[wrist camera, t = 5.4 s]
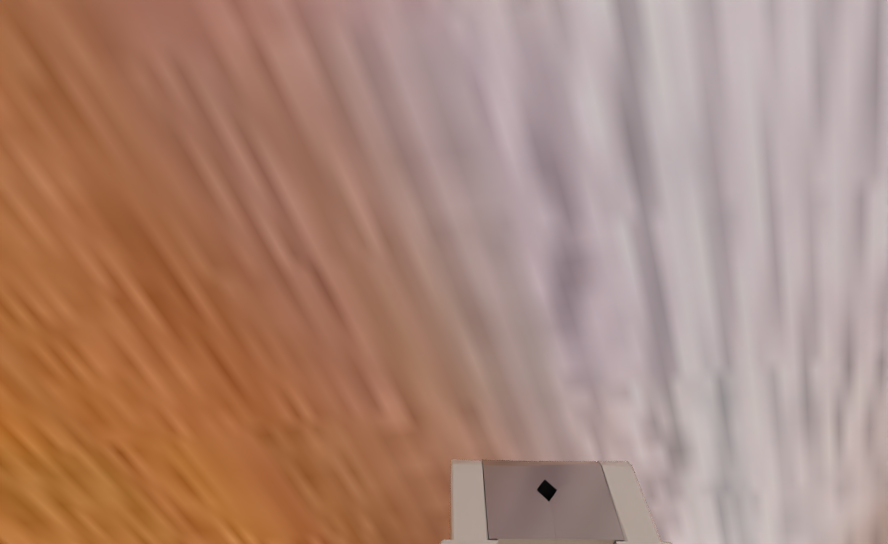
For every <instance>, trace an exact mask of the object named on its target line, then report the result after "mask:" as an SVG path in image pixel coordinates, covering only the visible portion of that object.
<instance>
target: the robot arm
mask: <svg viewBox="0 0 888 544" xmlns="http://www.w3.org/2000/svg"><path fill="white" fill-rule="evenodd" d="M440 544H673V543H671V542H662V541H661V539H660V536H659V534H658V531H657V529H656V526H655V523H654V521H653V518H652V516H651V513H650V511H649V508H648V505H647V503H646V500H645V498H644V495H643V493H642V490H641V487H640V485H639V482H638V480H637V477H636V475H635V472H634V470H633V467H632V465H631V464H630V463H629V462H628V461H598V462H596V461H539V462H537V461H510V460H482V461H481V460H463V459H452V460H451V480H450V519H449V540H442V541H441V543H440Z"/></svg>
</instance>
